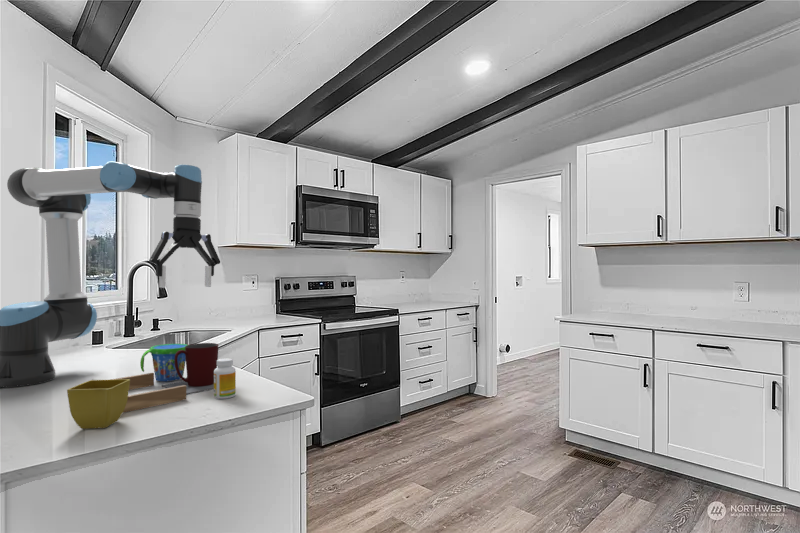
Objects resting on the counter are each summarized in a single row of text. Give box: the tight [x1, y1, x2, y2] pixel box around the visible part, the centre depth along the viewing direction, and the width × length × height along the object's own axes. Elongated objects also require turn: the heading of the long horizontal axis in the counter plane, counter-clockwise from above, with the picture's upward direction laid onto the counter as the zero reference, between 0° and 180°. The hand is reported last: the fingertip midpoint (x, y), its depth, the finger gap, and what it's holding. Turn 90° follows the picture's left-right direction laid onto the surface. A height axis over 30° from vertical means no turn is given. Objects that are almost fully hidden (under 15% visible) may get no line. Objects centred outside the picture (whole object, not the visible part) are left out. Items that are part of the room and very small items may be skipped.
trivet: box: [161, 380, 214, 396], centre depth 133 cm, size 14×14×1 cm
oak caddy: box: [109, 372, 187, 414], centre depth 120 cm, size 22×18×4 cm
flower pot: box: [66, 379, 130, 430], centre depth 100 cm, size 9×9×9 cm
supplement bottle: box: [213, 357, 237, 400], centre depth 122 cm, size 5×5×10 cm
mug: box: [174, 342, 219, 387], centre depth 133 cm, size 12×9×11 cm
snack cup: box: [140, 343, 188, 383], centre depth 141 cm, size 16×10×10 cm
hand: (185, 287), depth 140 cm, fingers open, 13 cm apart
